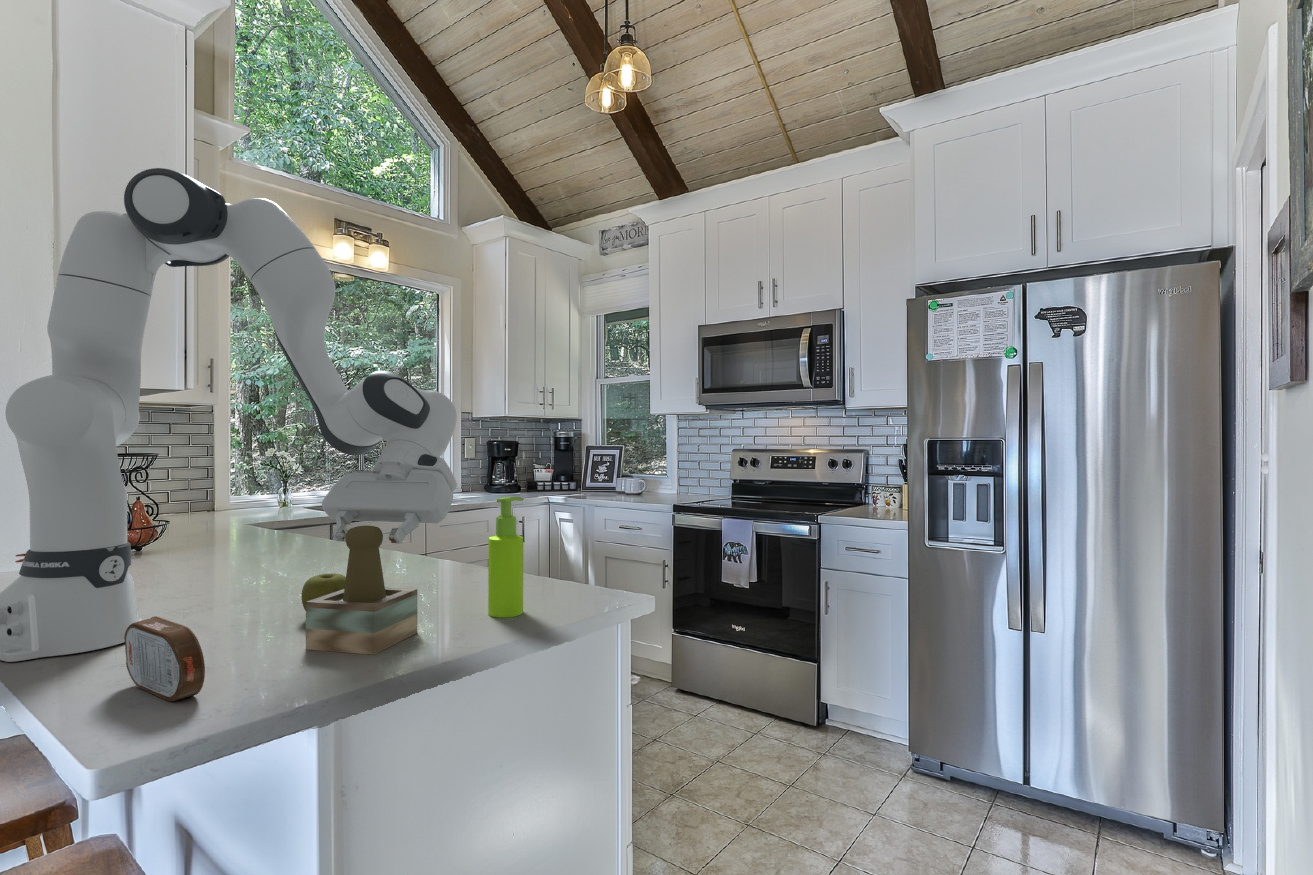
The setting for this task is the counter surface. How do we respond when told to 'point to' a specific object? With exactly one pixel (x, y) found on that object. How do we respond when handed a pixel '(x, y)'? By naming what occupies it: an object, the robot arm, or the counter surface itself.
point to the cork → (364, 565)
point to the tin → (164, 658)
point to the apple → (322, 586)
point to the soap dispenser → (505, 565)
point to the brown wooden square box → (360, 622)
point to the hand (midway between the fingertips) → (366, 540)
